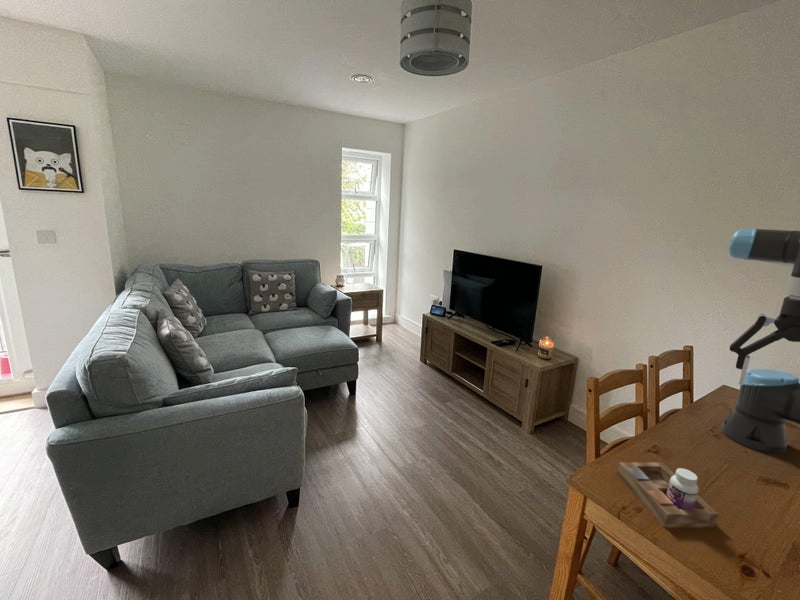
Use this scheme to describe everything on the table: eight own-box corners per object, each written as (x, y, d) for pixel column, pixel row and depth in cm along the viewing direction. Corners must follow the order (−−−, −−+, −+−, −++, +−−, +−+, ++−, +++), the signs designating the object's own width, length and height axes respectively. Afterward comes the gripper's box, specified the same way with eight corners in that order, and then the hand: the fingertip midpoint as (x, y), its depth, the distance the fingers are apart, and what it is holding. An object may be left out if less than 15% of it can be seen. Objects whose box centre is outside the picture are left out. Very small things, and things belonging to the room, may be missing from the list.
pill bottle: (658, 500, 89) (666, 466, 87) (679, 499, 90) (687, 465, 87) (676, 517, 84) (685, 482, 82) (698, 517, 84) (707, 481, 82)
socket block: (659, 473, 100) (662, 461, 99) (715, 527, 83) (719, 512, 82) (617, 473, 100) (619, 461, 99) (664, 527, 83) (667, 512, 82)
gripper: (729, 291, 80) (707, 379, 85) (918, 314, 64) (877, 422, 69) (730, 287, 86) (710, 370, 91) (905, 307, 69) (868, 408, 74)
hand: (782, 393), depth 80 cm, fingers open, 13 cm apart
